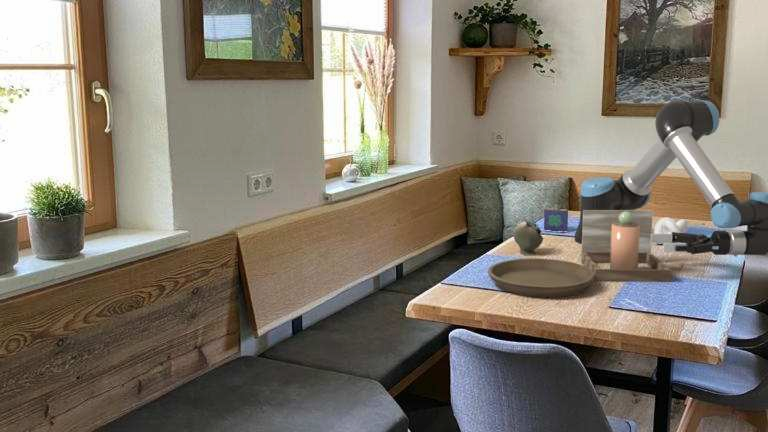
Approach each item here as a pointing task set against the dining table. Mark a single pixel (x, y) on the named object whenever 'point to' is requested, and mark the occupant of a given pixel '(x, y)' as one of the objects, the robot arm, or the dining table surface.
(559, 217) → the purple square panel
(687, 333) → the dining table surface
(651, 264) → the cold frame
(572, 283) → the plant saucer
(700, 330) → the dining table surface
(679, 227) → the white knot sculpture
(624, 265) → the pink canister
